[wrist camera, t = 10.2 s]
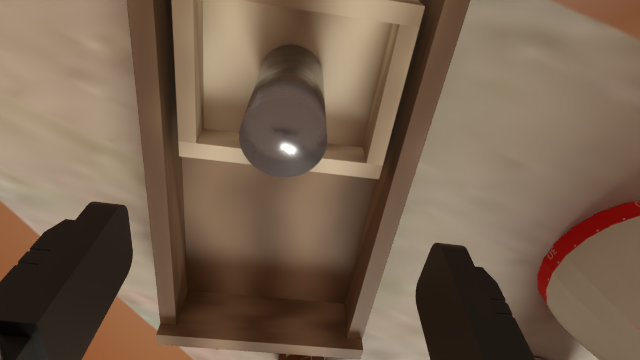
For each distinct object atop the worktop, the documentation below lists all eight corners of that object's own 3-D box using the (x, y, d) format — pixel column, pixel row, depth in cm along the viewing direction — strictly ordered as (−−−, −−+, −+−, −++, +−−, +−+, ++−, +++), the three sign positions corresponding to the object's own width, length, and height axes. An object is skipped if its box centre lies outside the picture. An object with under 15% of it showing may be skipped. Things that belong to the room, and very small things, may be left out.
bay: (449, -33, 22) (485, -20, 18) (354, 304, 37) (360, 359, 33) (153, -82, 21) (108, -83, 16) (177, 289, 36) (157, 344, 31)
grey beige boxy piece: (412, -5, 22) (464, 36, 14) (372, 155, 27) (396, 245, 20) (187, -40, 21) (116, -17, 13) (191, 133, 26) (143, 220, 19)
